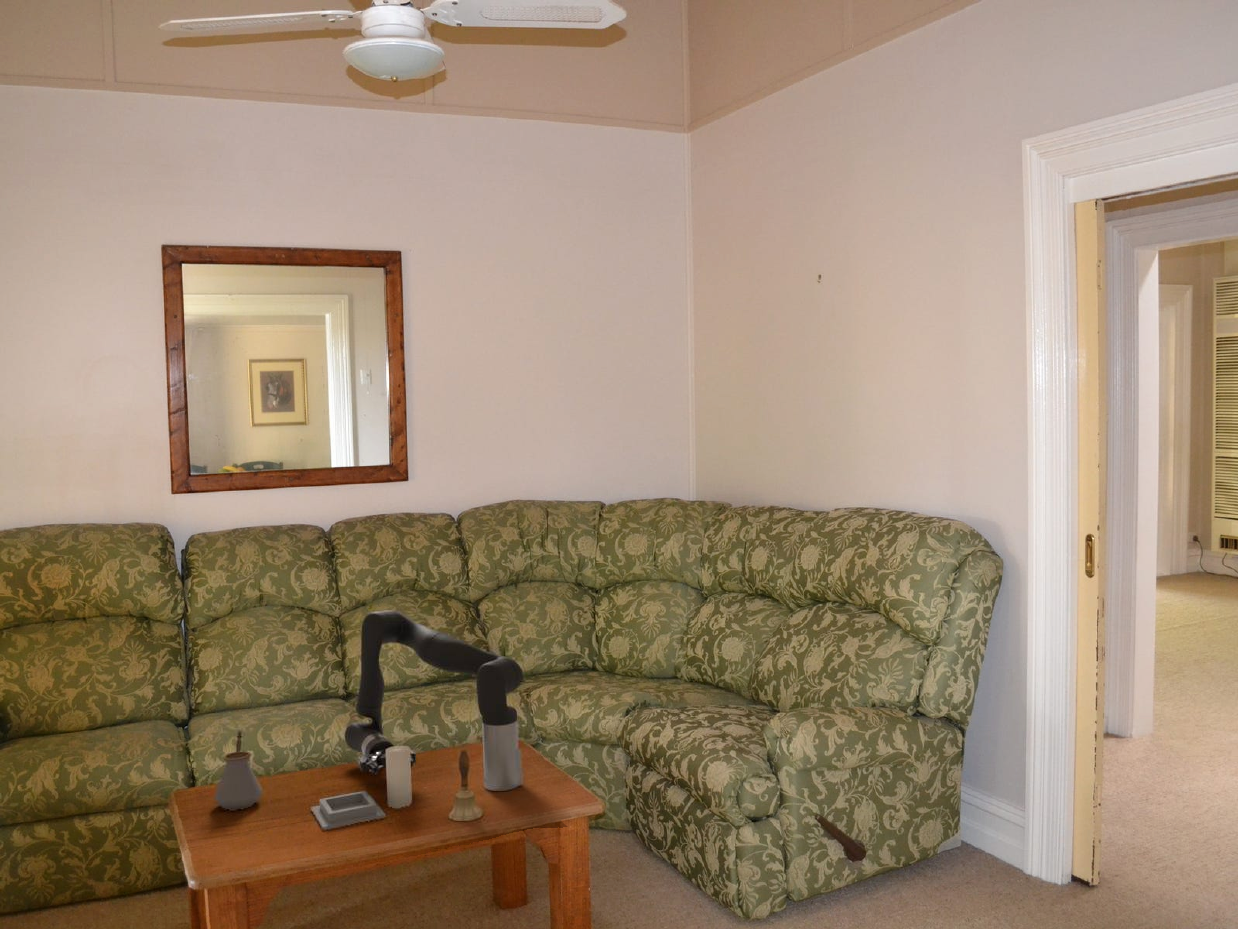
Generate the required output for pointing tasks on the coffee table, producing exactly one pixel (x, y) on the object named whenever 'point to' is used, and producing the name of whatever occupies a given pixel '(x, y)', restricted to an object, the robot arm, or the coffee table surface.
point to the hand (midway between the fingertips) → (394, 767)
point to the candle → (398, 776)
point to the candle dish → (346, 810)
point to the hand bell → (465, 795)
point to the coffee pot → (237, 781)
